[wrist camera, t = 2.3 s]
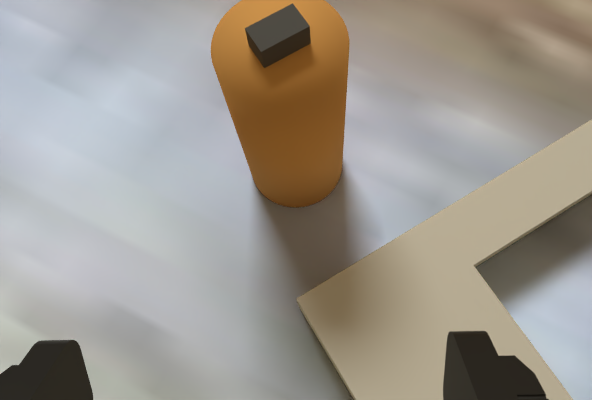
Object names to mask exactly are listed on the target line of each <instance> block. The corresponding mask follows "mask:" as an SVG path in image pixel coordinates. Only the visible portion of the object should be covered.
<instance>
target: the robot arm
mask: <svg viewBox="0 0 592 400" xmlns="http://www.w3.org/2000/svg"><path fill="white" fill-rule="evenodd" d="M0 400H93V393H92V389H91V385H90V382H89V378H88V374H87V371H86V367H85V363H84V360H83V356H82V352H81V349H80V346H79V344H78V343H77V341H75V340H48V341H38V342H37V343H35V344H34V346H33V347H32V348H31V349H30V351H29V352H28V354H27V355H26V356H25V358H24V359H23V360H22V362H21V363H20V364H19V365H12V366H10V367H9V368H8V369H7V370H5V371H4V372H3V373H1V374H0ZM443 400H549V399H547V398H546V394H545V392H544V390H543V388H542V386H541V384H540V382H539V380H538V379H537V377H536V375H535V373H534V372H533V371H532V370H530V369H529V368H528V367H527V366H526V365H525V364H524V363H523V362H521V361H520V360H519V359H518V358H517V357H516V356H515V355H509V356H498V354H497V351H496V349H495V347H494V345H493V343H492V341H491V339H490V337H489V335H488V333H487V332H486V331H450V332H449V333H448V336H447V345H446V357H445V368H444V380H443Z"/></svg>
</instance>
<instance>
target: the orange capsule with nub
mask: <svg viewBox="0 0 592 400" xmlns="http://www.w3.org/2000/svg"><path fill="white" fill-rule="evenodd" d="M211 58H212V63H213V66H214V69H215V71H216V74H217V77H218V80H219V83H220V86H221V89H222V91H223V94H224V97H225V100H226V103H227V106H228V108H229V111H230V114H231V117H232V120H233V123H234V126H235V128H236V131H237V134H238V137H239V140H240V143H241V145H242V148H243V151H244V154H245V157H246V160H247V162H248V165H249V168H250V171H251V174H252V177H253V180H254V182H255V184H256V186H257V188H258V189H259V191H260V192H261V193H262V194H263V195H264V196H265V197H266V198H268V199H269V200H271V201H272V202H274V203H277V204H279V205H282V206H286V207H305V206H309V205H312V204H315V203H317V202H319V201H321V200H322V199H324V198H325V197H326V196H328V195H329V194H330V193H331V192H332V191H333V189H334V188H335V186H336V185H337V183H338V181H339V179H340V176H341V171H342V160H343V144H344V127H345V110H346V93H347V76H348V59H349V36H348V31H347V28H346V25H345V23H344V21H343V19H342V18H341V16H340V15H339V13H338V12H337V11H336V10H335V9H334V8H333V7H332V6H331V5H330V4H328V3H327V2H326V1H324V0H242V1H240V2H239V3H237V4H236V5H235V6H233V7H232V8H231V9H230V10H229V11H228V12H227V13H226V14H225V15H224V16H223V18H222V19H221V20H220V22H219V24H218V25H217V27H216V29H215V32H214V35H213V38H212V43H211Z"/></svg>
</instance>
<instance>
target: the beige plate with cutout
mask: <svg viewBox="0 0 592 400" xmlns="http://www.w3.org/2000/svg"><path fill="white" fill-rule="evenodd" d="M591 194H592V120H590V121H589V122H587V123H585V124H584V125H582V126H580V127H579V128H577V129H576V130H574V131H572V132H571V133H569V134H567V135H566V136H564V137H562V138H561V139H559V140H557V141H556V142H554V143H552V144H551V145H549V146H547V147H546V148H544V149H542V150H541V151H539V152H538V153H536V154H534V155H533V156H531V157H529V158H528V159H526V160H524V161H523V162H521V163H519V164H518V165H516V166H514V167H513V168H511V169H509V170H508V171H506V172H505V173H503V174H501V175H500V176H498V177H496V178H495V179H493V180H491V181H490V182H488V183H486V184H485V185H483V186H481V187H480V188H478V189H476V190H475V191H473V192H471V193H470V194H468V195H467V196H465V197H463V198H462V199H460V200H458V201H457V202H455V203H453V204H452V205H450V206H448V207H447V208H445V209H443V210H442V211H440V212H438V213H437V214H435V215H434V216H432V217H430V218H429V219H427V220H425V221H424V222H422V223H420V224H419V225H417V226H415V227H414V228H412V229H410V230H409V231H407V232H405V233H404V234H402V235H401V236H399V237H397V238H396V239H394V240H392V241H391V242H389V243H387V244H386V245H384V246H382V247H381V248H379V249H377V250H376V251H374V252H372V253H371V254H369V255H367V256H366V257H364V258H363V259H361V260H359V261H358V262H356V263H354V264H353V265H351V266H349V267H348V268H346V269H344V270H343V271H341V272H339V273H338V274H336V275H334V276H333V277H331V278H330V279H328V280H326V281H325V282H323V283H321V284H320V285H318V286H316V287H315V288H313V289H311V290H310V291H308V292H306V293H305V294H303V295H301V296H300V297H298V298H296V300H297V303H298V305H299V308H300V309H301V311H302V313H303V314H304V316H305V318H306V320H307V321H308V323H309V325H310V326H311V328H312V330H313V331H314V333H315V335H316V336H317V338H318V340H319V342H320V343H321V345H322V347H323V348H324V350H325V352H326V353H327V355H328V357H329V358H330V360H331V362H332V363H333V365H334V367H335V369H336V370H337V372H338V374H339V375H340V377H341V379H342V380H343V382H344V384H345V385H346V387H347V389H348V390H349V392H350V394H351V396H352V397H353V399H354V400H443V380H444V368H445V357H446V345H447V336H448V333H449V332H450V331H486V332H487V333H488V335H489V337H490V339H491V341H492V343H493V345H494V347H495V349H496V351H497V354H498V356H509V355H515V356H516V357H517V358H518V359H519V360H520V361H521V362H523V363H524V364H525V365H526V366H527V367H528V368H529V369H530V370H532V371H533V372H534V373H535V375H536V377H537V379H538V380H539V382H540V384H541V386H542V388H543V390H544V392H545V394H546V398H547V399H549V400H573V399H572V398H571V396H570V395H569V394H568V392H567V391H566V390H565V388H564V387H563V386H562V384H561V383H560V381H559V380H558V379H557V377H556V376H555V375H554V373H553V372H552V371H551V369H550V368H549V367H548V365H547V364H546V363H545V361H544V360H543V358H542V357H541V356H540V354H539V353H538V352H537V350H536V349H535V348H534V346H533V345H532V344H531V342H530V341H529V340H528V338H527V337H526V335H525V334H524V333H523V331H522V330H521V329H520V327H519V326H518V325H517V323H516V322H515V321H514V319H513V318H512V317H511V315H510V314H509V312H508V311H507V310H506V308H505V307H504V306H503V304H502V303H501V302H500V300H499V299H498V298H497V296H496V295H495V294H494V292H493V291H492V290H491V288H490V287H489V285H488V284H487V283H486V281H485V280H484V279H483V277H482V276H481V275H480V273H479V272H478V271H477V269H476V268H475V267H477V266H478V265H480V264H481V263H483V262H484V261H486V260H488V259H489V258H491V257H492V256H494V255H496V254H497V253H499V252H500V251H502V250H504V249H505V248H507V247H508V246H510V245H511V244H513V243H515V242H516V241H518V240H519V239H521V238H523V237H524V236H526V235H527V234H529V233H531V232H532V231H534V230H535V229H537V228H539V227H540V226H542V225H543V224H545V223H546V222H548V221H550V220H551V219H553V218H554V217H556V216H558V215H559V214H561V213H562V212H564V211H566V210H567V209H569V208H570V207H572V206H573V205H575V204H577V203H578V202H580V201H581V200H583V199H585V198H586V197H588V196H589V195H591Z"/></svg>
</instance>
